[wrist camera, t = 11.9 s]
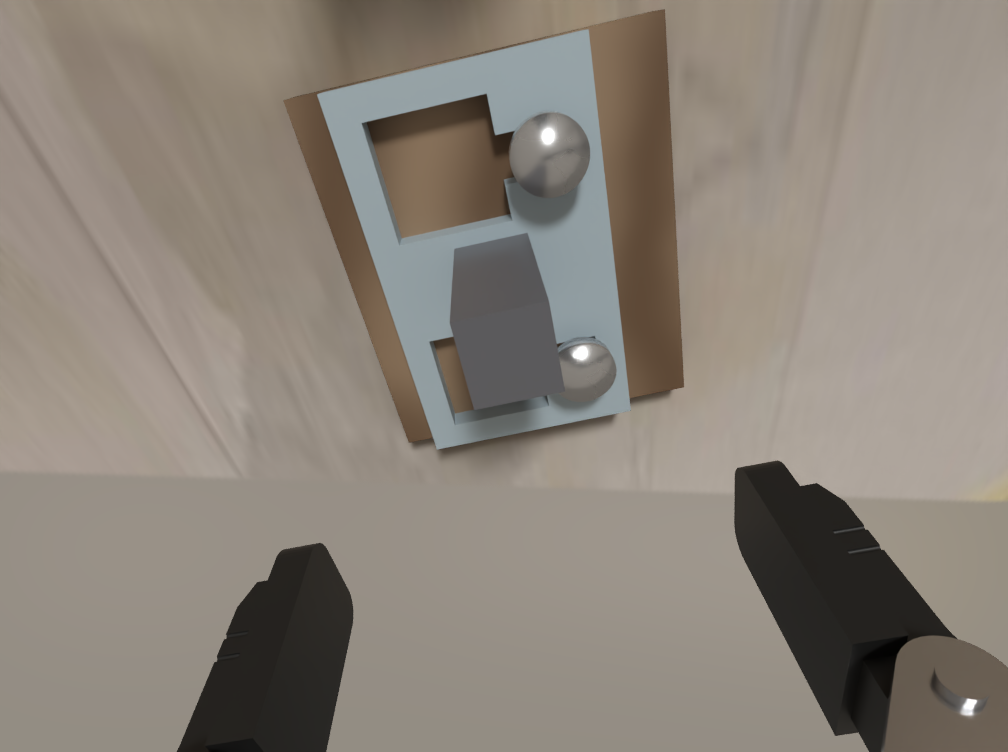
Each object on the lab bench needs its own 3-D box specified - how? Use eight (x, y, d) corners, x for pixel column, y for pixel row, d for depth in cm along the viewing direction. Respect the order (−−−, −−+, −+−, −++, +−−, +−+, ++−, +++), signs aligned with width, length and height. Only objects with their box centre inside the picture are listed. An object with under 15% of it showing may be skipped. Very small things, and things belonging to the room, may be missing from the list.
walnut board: (653, 11, 21) (689, 5, 18) (674, 371, 29) (702, 417, 26) (294, 97, 22) (261, 107, 18) (411, 425, 30) (404, 476, 27)
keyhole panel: (583, 29, 20) (643, 23, 13) (625, 399, 28) (676, 514, 21) (323, 92, 21) (251, 116, 14) (437, 437, 29) (428, 561, 22)
